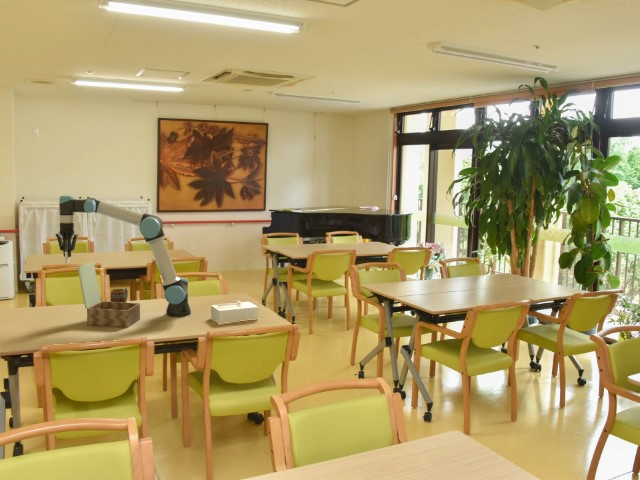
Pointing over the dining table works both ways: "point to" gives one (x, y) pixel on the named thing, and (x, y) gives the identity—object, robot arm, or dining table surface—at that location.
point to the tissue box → (234, 311)
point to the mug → (119, 295)
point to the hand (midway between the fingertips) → (67, 262)
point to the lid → (89, 284)
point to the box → (113, 314)
